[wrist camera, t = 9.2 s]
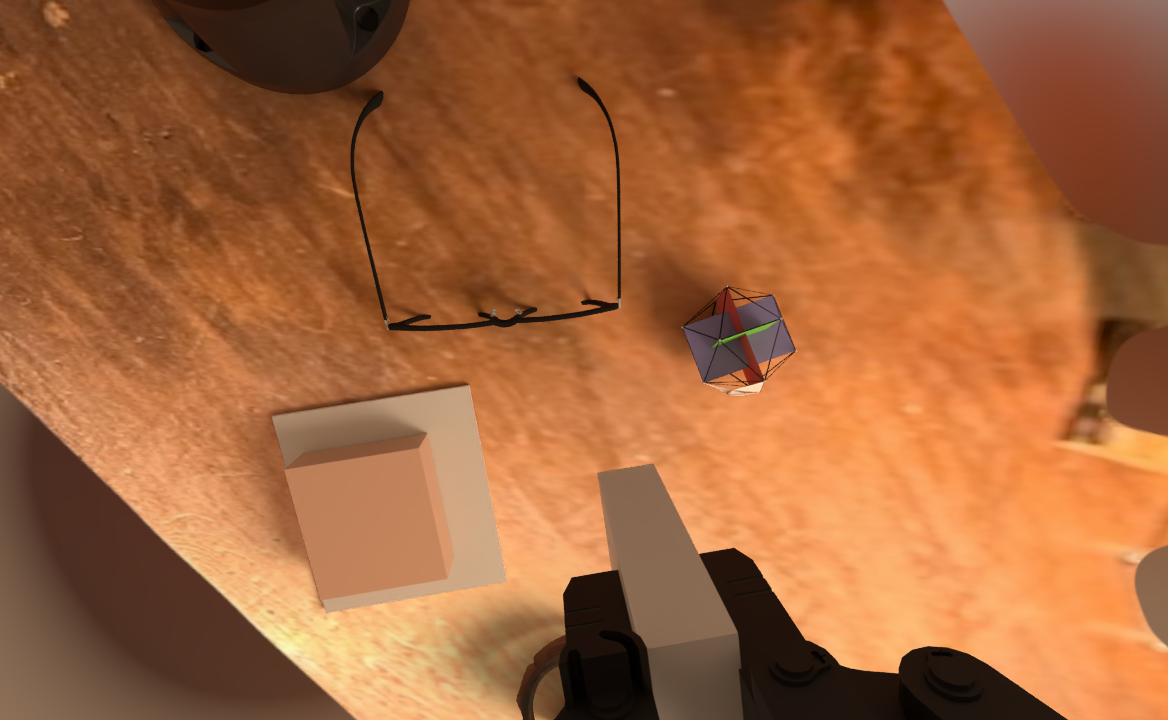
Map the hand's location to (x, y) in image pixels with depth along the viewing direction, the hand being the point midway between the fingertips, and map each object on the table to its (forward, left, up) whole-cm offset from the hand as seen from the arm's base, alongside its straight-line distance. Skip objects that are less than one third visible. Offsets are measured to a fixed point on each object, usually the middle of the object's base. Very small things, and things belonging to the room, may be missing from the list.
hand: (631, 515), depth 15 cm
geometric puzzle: (+1, +11, -27) cm, 29 cm away
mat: (+10, -15, -26) cm, 32 cm away
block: (+10, -12, -24) cm, 29 cm away
